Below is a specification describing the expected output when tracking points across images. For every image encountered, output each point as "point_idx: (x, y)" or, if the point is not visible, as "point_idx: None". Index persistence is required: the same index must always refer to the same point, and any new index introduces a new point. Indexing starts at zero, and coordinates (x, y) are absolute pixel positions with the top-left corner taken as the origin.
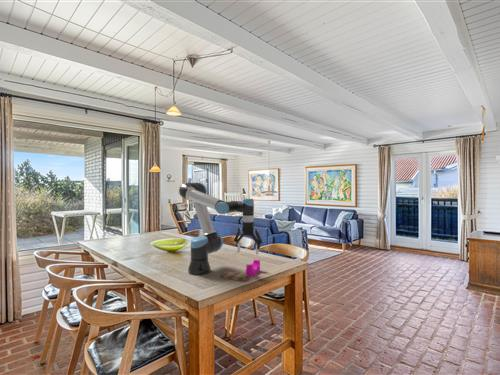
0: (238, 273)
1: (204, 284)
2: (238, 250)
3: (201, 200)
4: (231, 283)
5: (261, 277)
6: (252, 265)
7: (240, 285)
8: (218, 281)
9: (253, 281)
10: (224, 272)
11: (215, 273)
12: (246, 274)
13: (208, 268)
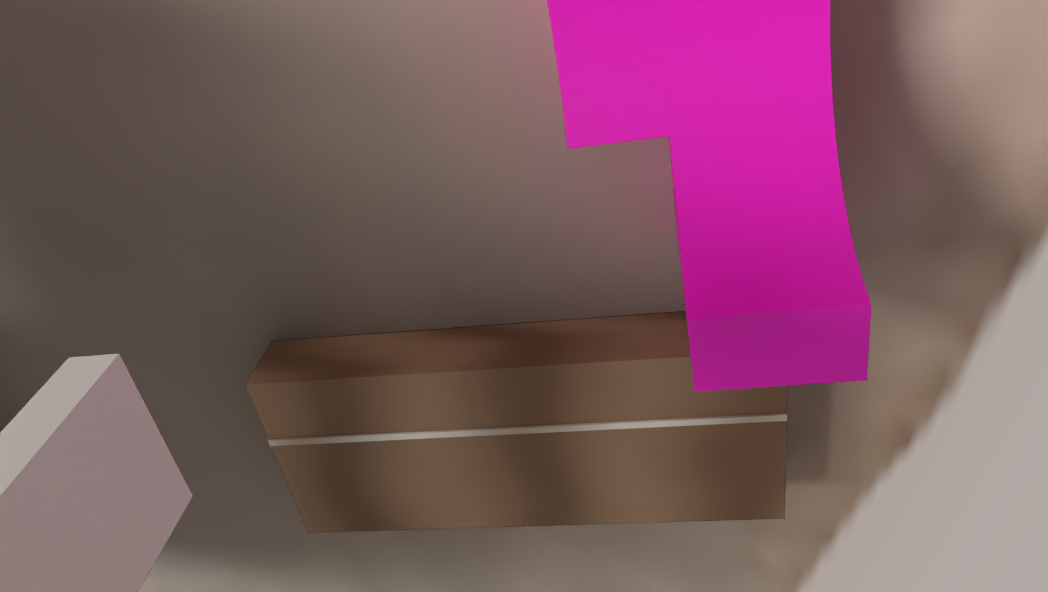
0: (559, 392)
1: None
2: (148, 565)
3: None
4: (628, 576)
5: (1040, 148)
6: (867, 327)
7: (792, 587)
8: (417, 582)
9: (934, 402)
10: (294, 447)
11: None
12: None
13: None
